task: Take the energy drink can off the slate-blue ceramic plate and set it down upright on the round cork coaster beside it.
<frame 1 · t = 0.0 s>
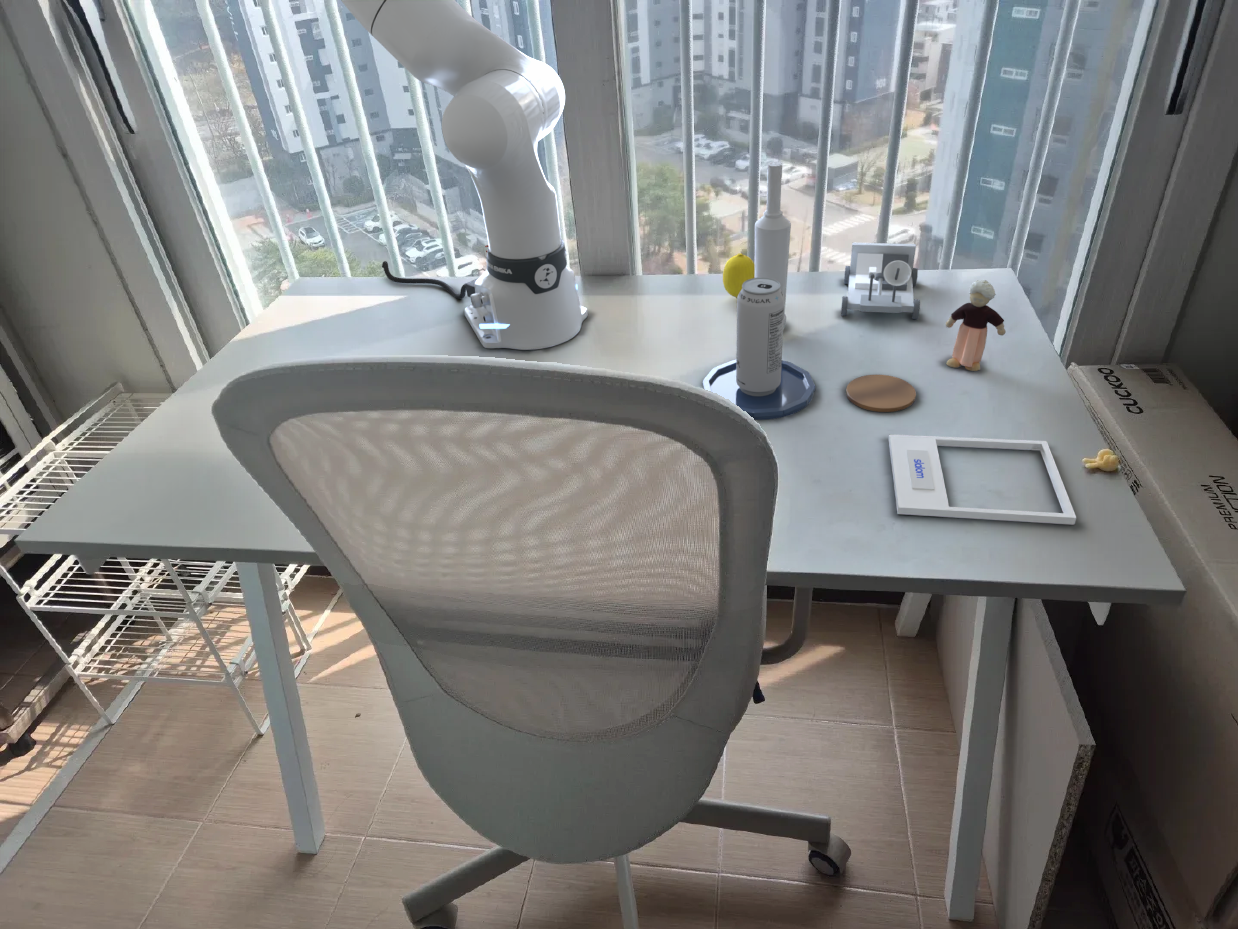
coaster: (880, 394, 115), on the table
bottle: (768, 328, 133), on the table
photo frame: (974, 480, 98), on the table
energy drink can: (758, 388, 117), resting on plate
plate: (758, 390, 118), on the table
lemon: (739, 300, 142), on the table
grandmother figurine: (967, 367, 119), on the table
toy car: (878, 304, 138), on the table
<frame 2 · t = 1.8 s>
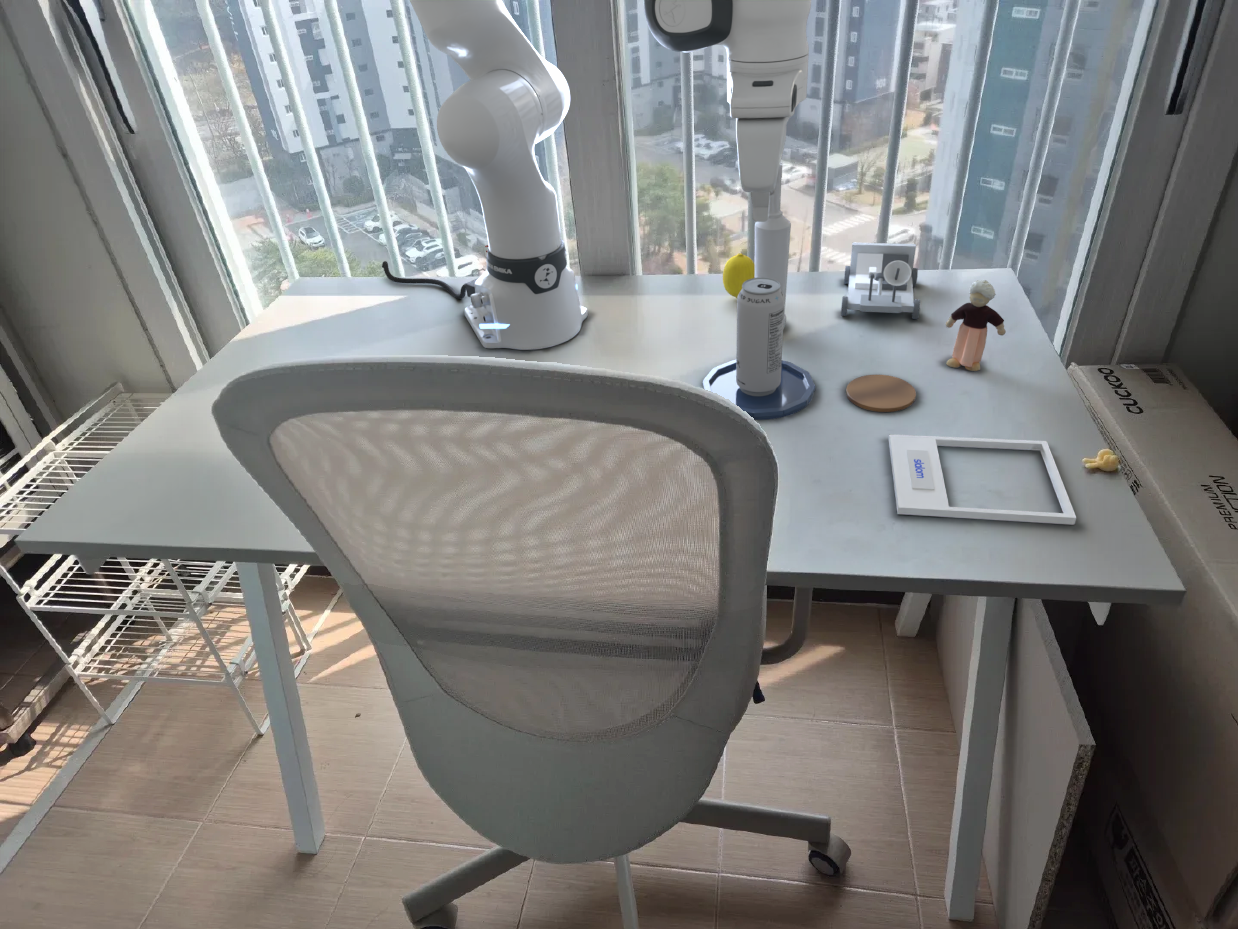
hand: (764, 206, 103), 26 cm above the table, tool pointing down, fingers open, 8 cm apart
nothing on the table moved.
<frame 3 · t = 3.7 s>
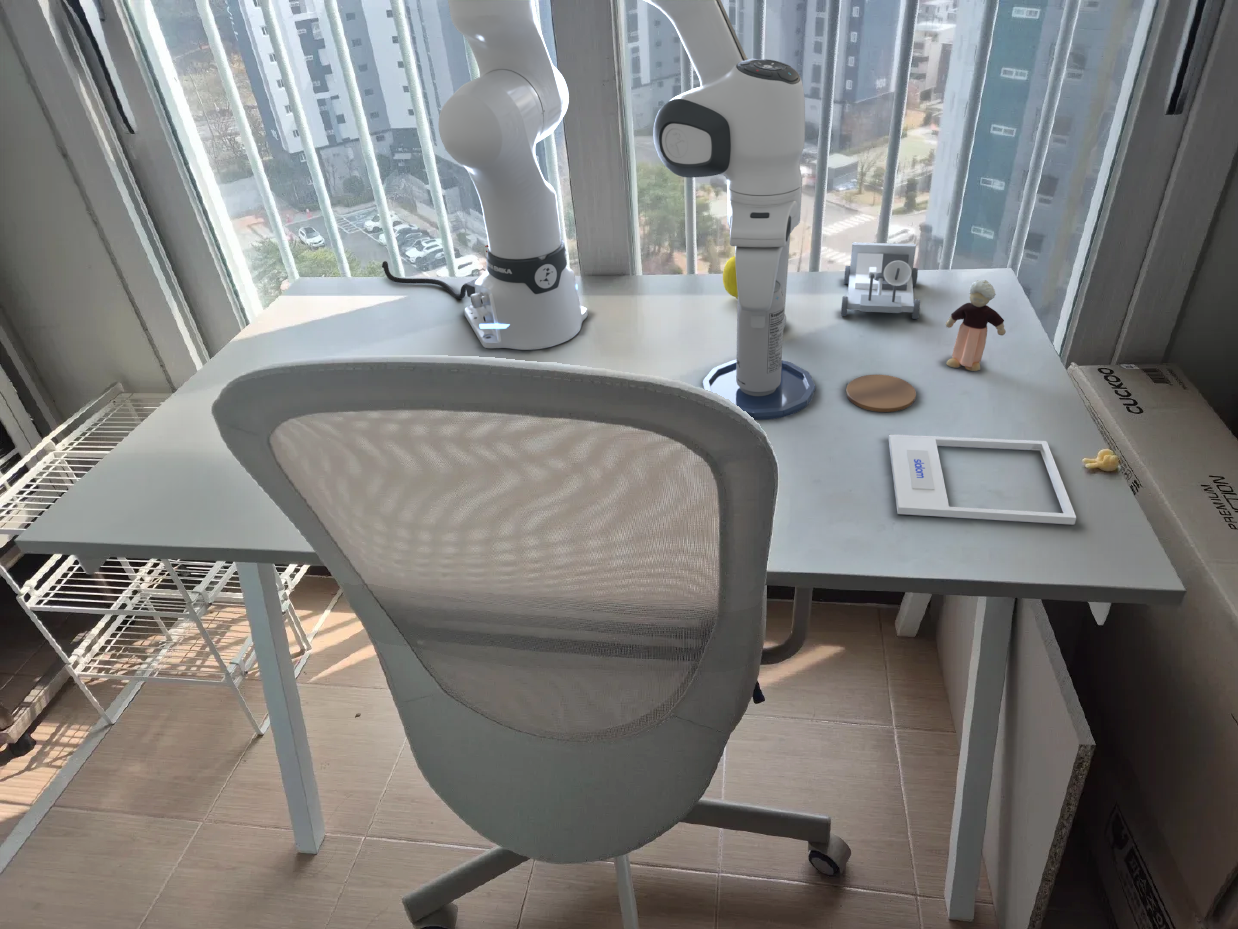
hand: (760, 313, 111), 12 cm above the table, tool pointing down, fingers closed on energy drink can, 6 cm apart
energy drink can: (758, 388, 117), resting on plate, touching gripper
everything else where it was.
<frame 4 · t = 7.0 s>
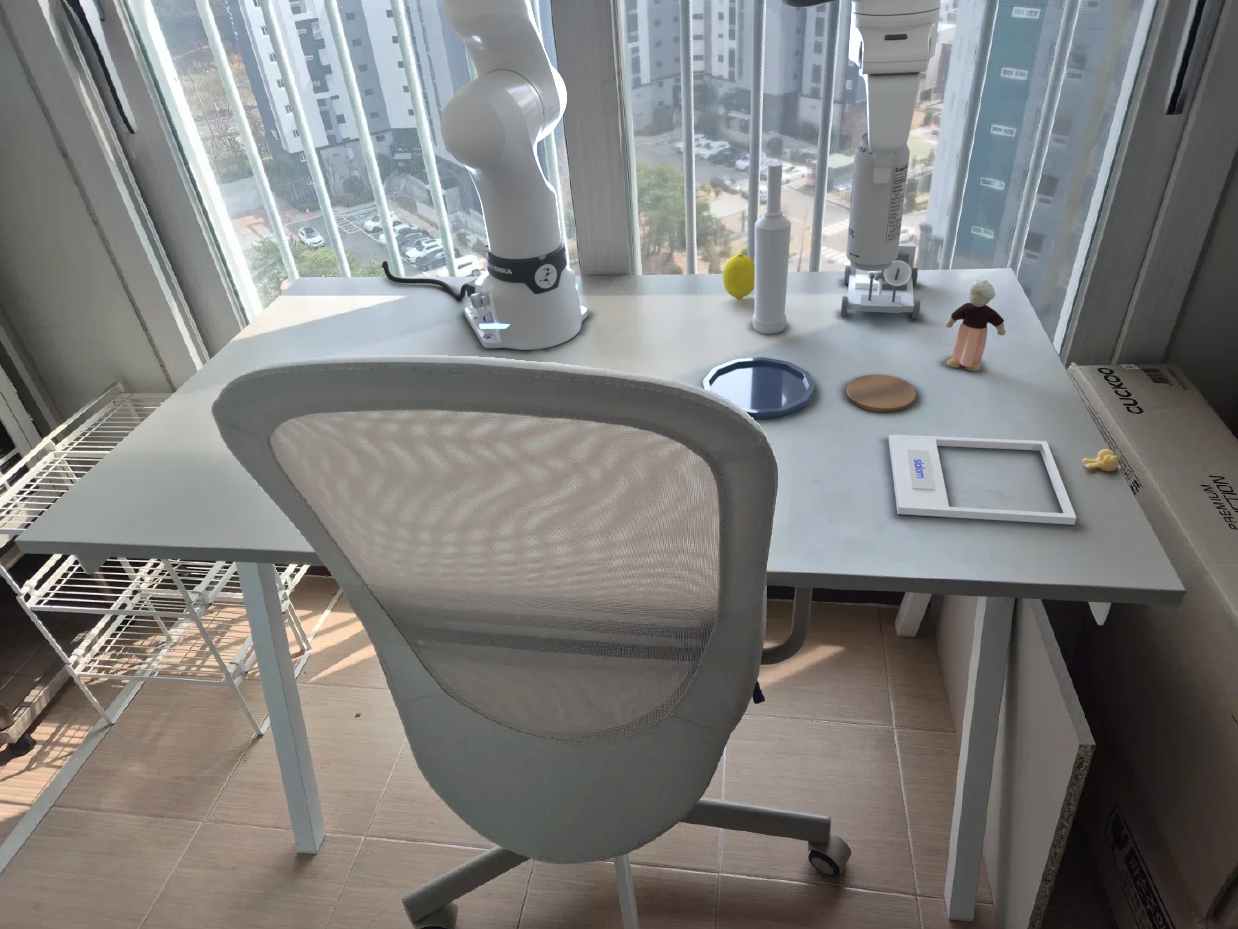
hand: (880, 171, 98), 30 cm above the table, tool pointing down, fingers closed on energy drink can, 6 cm apart
energy drink can: (870, 264, 105), point 18 cm above the table, touching gripper
everything else where it was.
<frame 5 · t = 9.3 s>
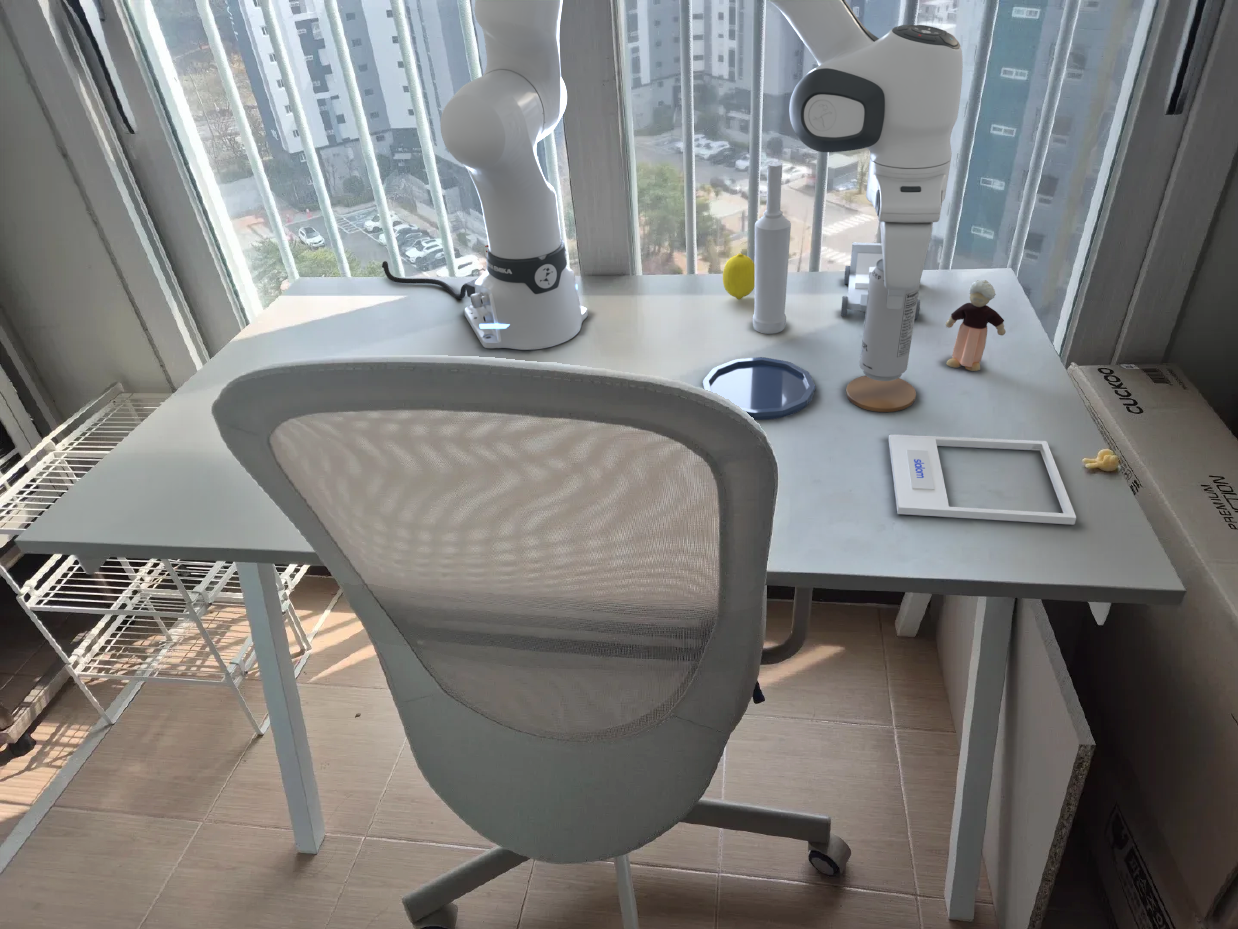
hand: (892, 294, 106), 14 cm above the table, tool pointing down, fingers closed on energy drink can, 6 cm apart
energy drink can: (882, 373, 113), point 3 cm above the table, touching gripper
everything else where it was.
when the fingers open (12 cm above the table, at t = 10.7 s): energy drink can stays where it is, resting on coaster.
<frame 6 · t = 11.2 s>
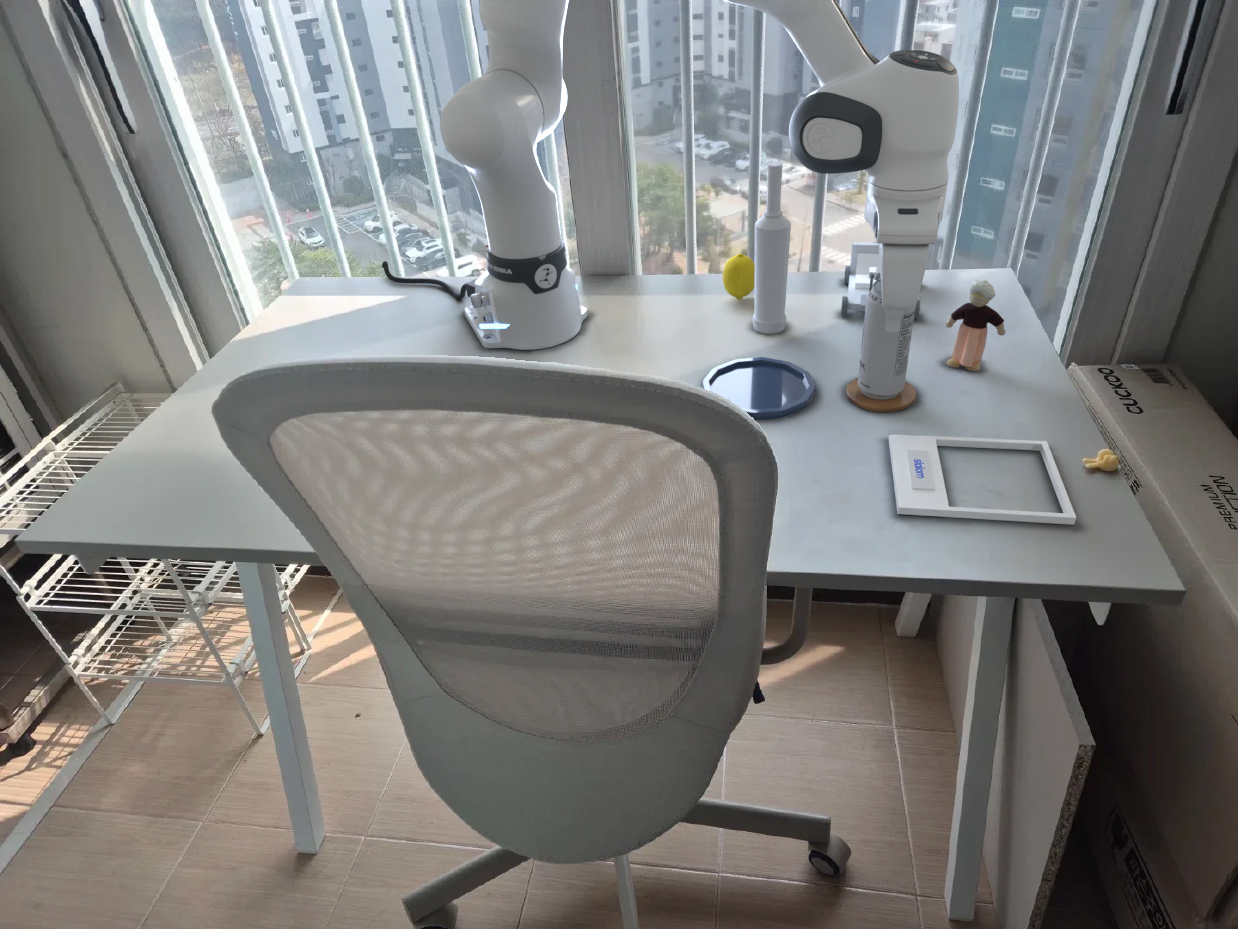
hand: (890, 312, 108), 12 cm above the table, tool pointing down, fingers open, 8 cm apart
energy drink can: (879, 391, 115), resting on coaster
everything else where it was.
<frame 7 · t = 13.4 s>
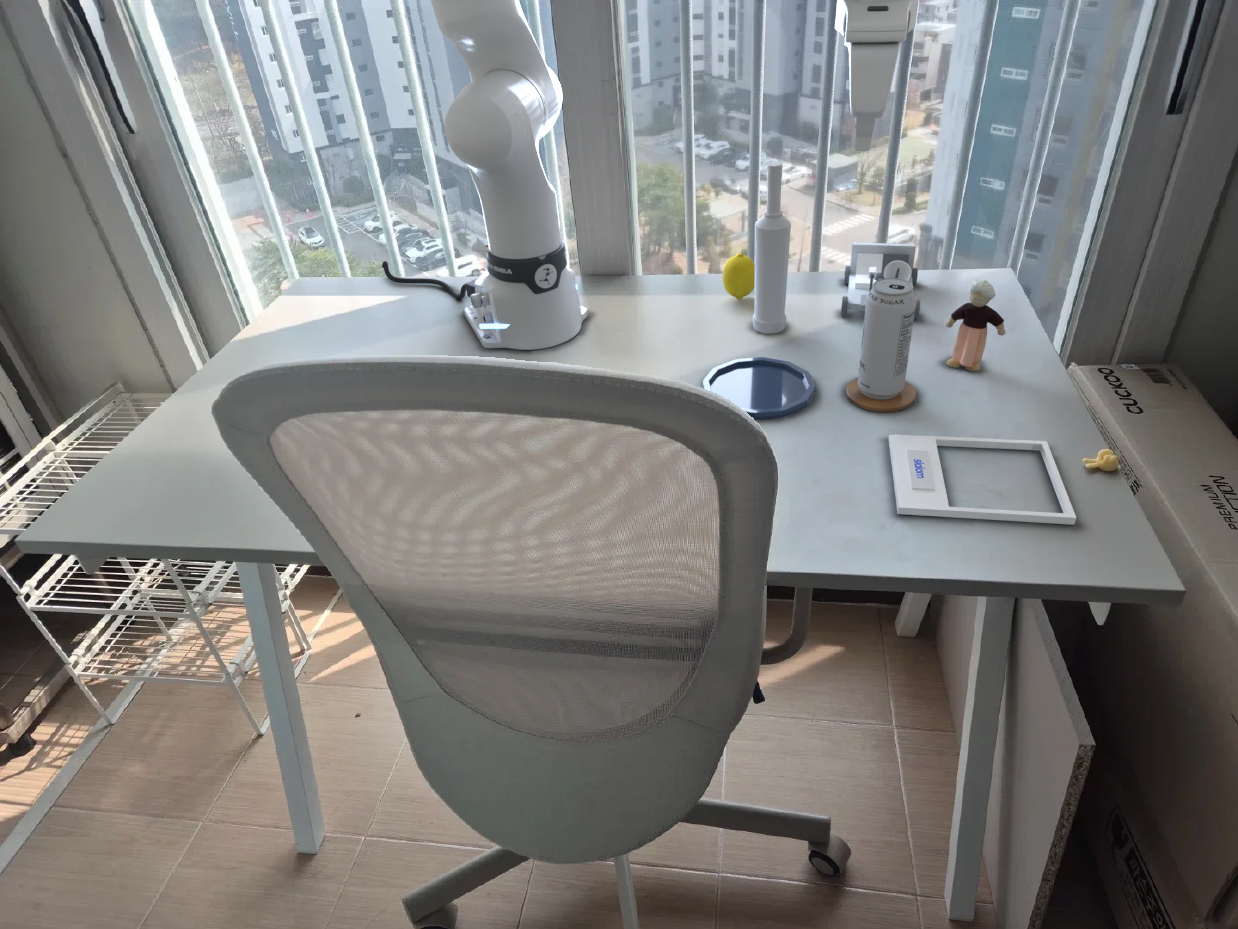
hand: (862, 138, 104), 31 cm above the table, tool pointing down, fingers open, 8 cm apart
nothing on the table moved.
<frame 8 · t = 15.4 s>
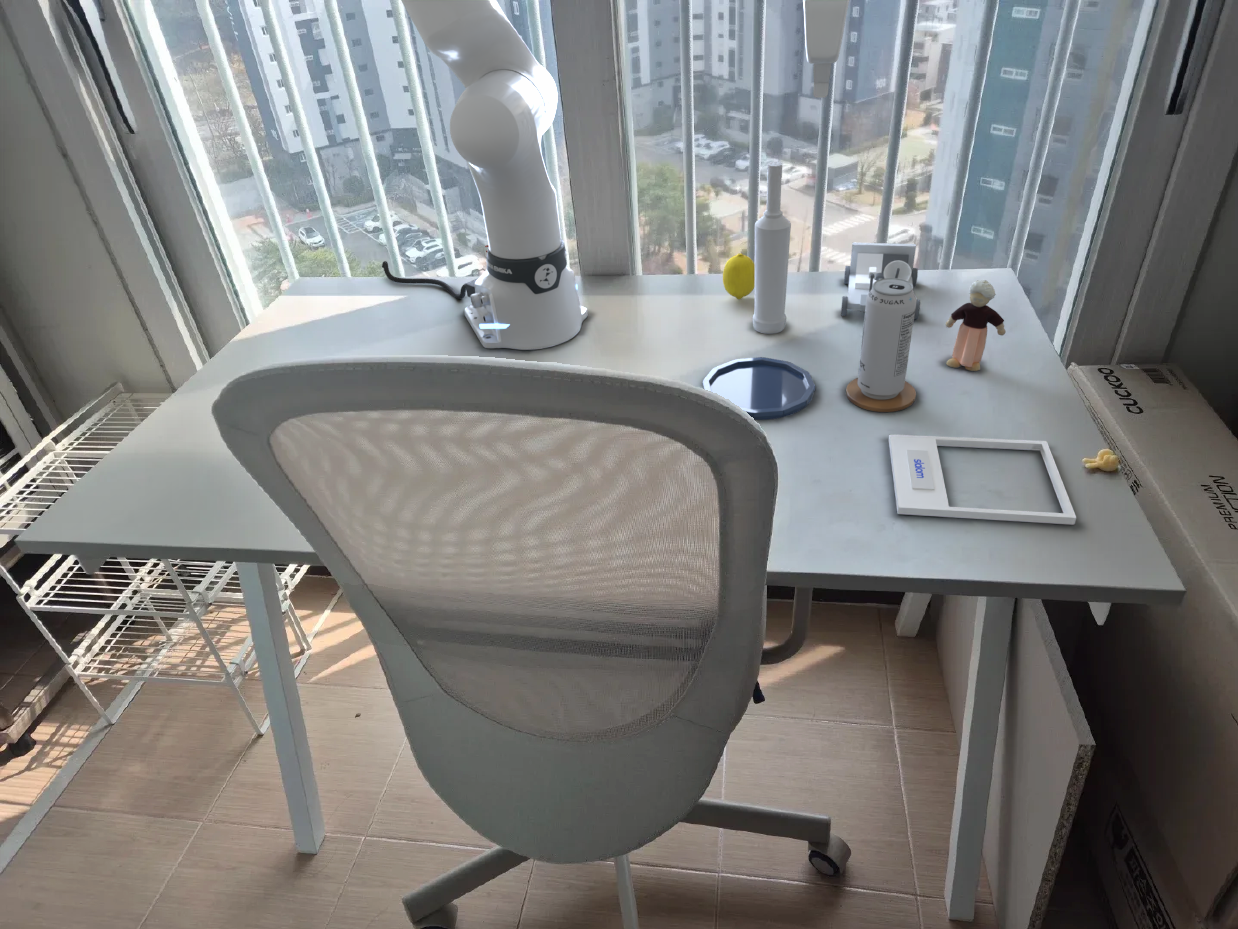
hand: (821, 87, 111), 35 cm above the table, tool pointing down, fingers open, 8 cm apart
nothing on the table moved.
at the end: energy drink can 0.2 cm off-centre on the coaster, point 0.4 cm above the coaster's base; energy drink can tilted 0°; energy drink can touching coaster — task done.
